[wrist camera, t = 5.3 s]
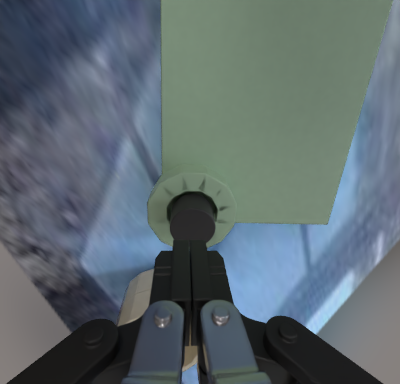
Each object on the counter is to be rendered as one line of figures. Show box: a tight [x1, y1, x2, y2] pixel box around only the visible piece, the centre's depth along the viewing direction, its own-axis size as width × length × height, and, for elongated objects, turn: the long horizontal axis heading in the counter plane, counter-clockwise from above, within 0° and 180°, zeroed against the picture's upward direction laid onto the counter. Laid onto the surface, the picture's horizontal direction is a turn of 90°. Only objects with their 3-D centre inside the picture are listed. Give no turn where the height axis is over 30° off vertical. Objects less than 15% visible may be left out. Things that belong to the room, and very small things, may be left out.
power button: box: [170, 194, 216, 247], centre depth 15 cm, size 3×3×2 cm
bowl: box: [116, 269, 198, 372], centre depth 20 cm, size 6×6×5 cm
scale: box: [147, 0, 393, 248], centre depth 16 cm, size 13×15×3 cm
